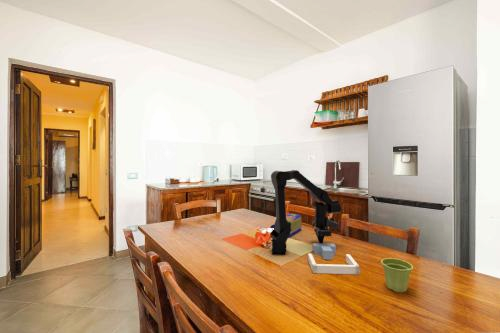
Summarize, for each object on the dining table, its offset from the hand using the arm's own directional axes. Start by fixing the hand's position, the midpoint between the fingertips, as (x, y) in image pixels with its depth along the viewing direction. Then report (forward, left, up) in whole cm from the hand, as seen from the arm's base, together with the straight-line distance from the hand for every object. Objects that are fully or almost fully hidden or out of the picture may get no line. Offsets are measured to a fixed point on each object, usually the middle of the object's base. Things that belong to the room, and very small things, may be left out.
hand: (320, 244), depth 124 cm
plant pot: (+18, -39, -2) cm, 43 cm away
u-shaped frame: (0, -23, -1) cm, 23 cm away
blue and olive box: (-15, +23, -2) cm, 28 cm away
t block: (0, -10, -1) cm, 11 cm away
